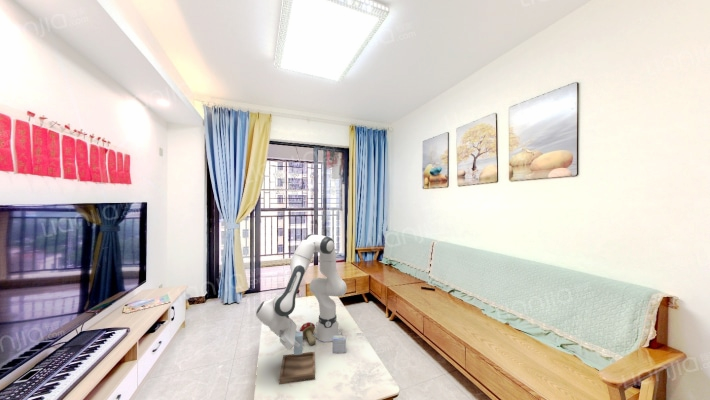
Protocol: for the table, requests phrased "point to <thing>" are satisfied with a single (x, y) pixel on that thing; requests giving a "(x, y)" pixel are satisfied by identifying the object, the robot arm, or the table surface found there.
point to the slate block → (299, 342)
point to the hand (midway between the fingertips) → (299, 342)
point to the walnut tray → (297, 368)
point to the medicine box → (339, 344)
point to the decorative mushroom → (308, 332)
